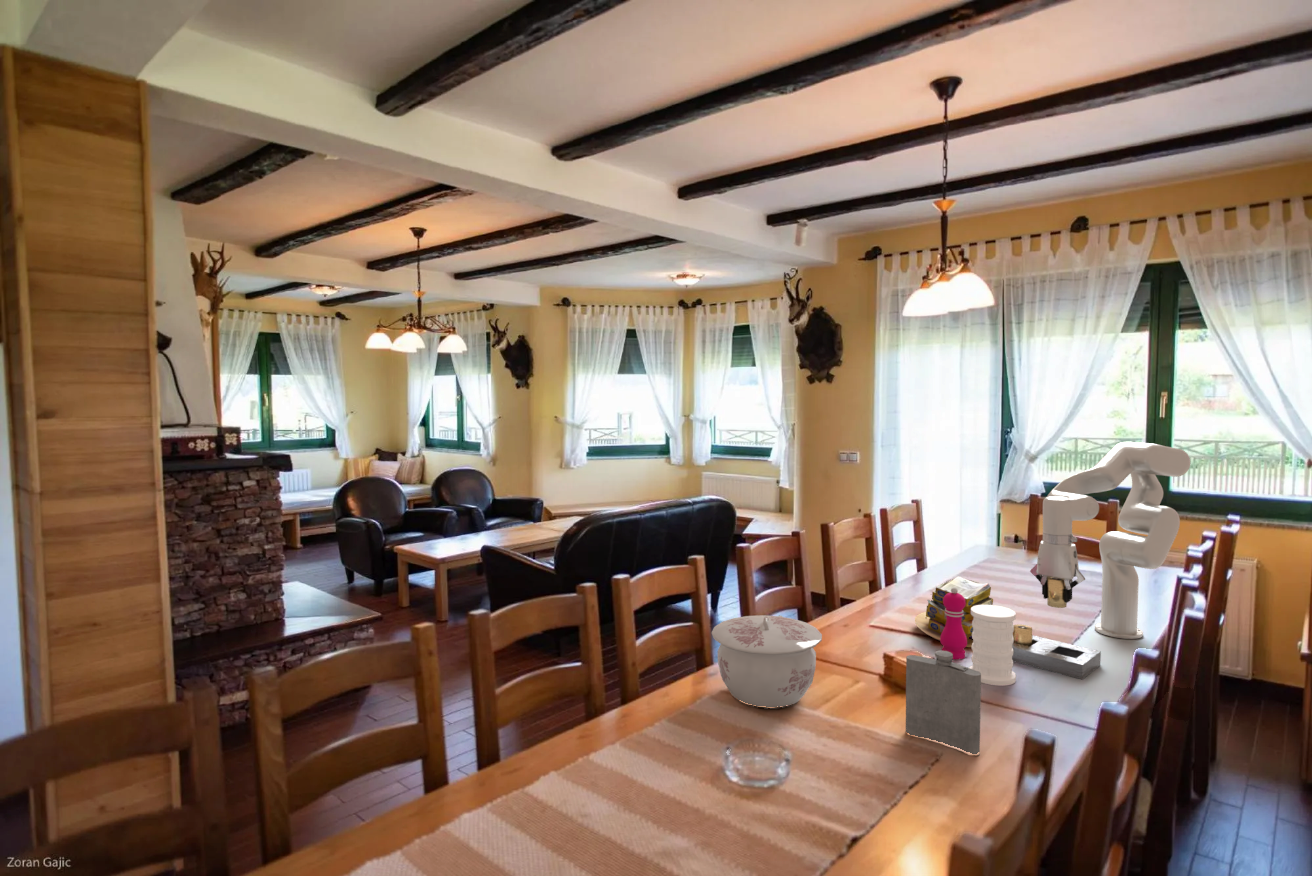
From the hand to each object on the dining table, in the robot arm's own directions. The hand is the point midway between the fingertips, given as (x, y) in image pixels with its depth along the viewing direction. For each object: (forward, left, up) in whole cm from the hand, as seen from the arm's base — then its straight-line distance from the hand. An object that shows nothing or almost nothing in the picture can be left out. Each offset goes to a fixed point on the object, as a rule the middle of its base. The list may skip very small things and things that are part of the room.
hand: (1056, 598), depth 213 cm
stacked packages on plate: (+10, -25, -15) cm, 31 cm away
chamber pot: (+89, -36, -15) cm, 97 cm away
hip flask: (+79, +5, -15) cm, 80 cm away
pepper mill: (+29, -17, -15) cm, 36 cm away
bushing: (0, 0, -2) cm, 2 cm away
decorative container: (+36, -3, -15) cm, 39 cm away
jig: (+14, +2, -14) cm, 20 cm away
